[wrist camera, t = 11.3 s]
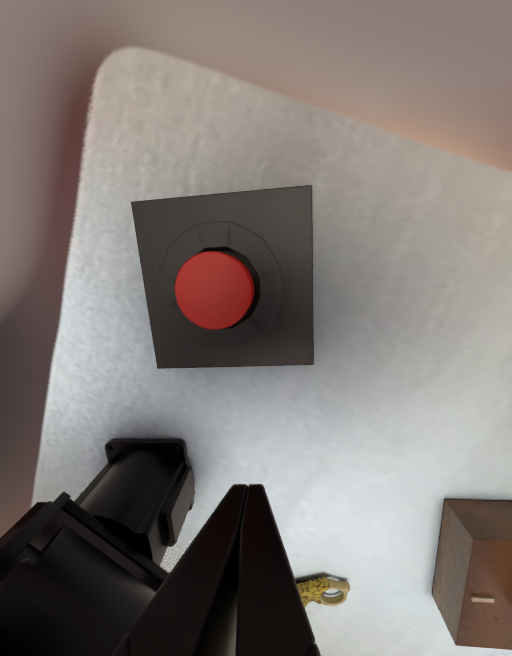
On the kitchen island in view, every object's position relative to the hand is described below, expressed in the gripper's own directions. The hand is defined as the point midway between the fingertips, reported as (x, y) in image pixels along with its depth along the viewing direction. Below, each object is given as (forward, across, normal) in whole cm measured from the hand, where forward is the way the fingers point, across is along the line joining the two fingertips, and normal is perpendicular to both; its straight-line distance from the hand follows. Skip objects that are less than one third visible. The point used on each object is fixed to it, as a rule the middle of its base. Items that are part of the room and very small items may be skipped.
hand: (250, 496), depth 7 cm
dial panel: (+11, -18, +17) cm, 27 cm away
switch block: (+11, +2, -5) cm, 13 cm away
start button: (+8, +2, -5) cm, 9 cm away
